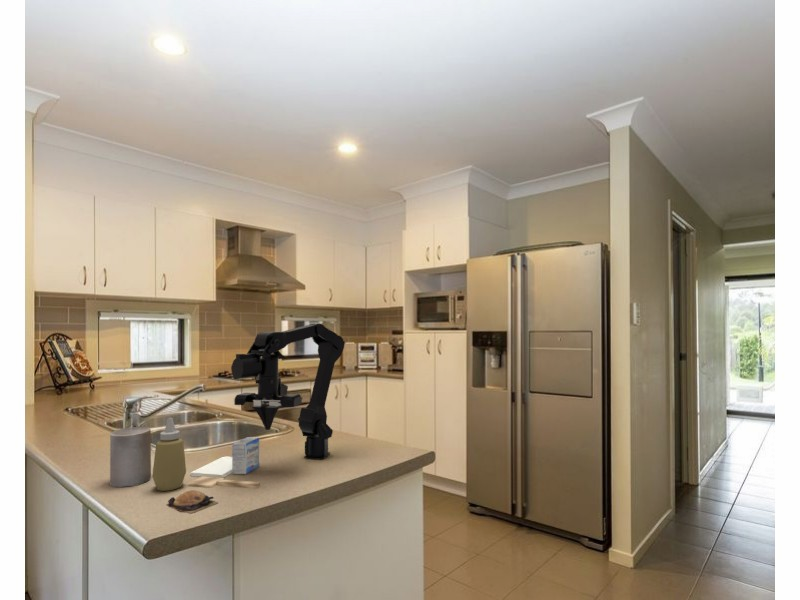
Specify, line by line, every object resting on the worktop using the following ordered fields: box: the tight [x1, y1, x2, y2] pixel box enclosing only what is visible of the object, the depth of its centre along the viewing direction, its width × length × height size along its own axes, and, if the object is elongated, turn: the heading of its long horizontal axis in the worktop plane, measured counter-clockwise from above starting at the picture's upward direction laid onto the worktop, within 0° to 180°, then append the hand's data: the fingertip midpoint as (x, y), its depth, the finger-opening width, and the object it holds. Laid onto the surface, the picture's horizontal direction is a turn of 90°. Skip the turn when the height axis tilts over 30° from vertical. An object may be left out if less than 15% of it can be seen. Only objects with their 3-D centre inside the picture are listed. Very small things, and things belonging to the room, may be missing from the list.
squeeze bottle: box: [151, 417, 187, 492], centre depth 123 cm, size 8×8×18 cm
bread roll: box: [165, 489, 219, 514], centre depth 112 cm, size 11×8×4 cm
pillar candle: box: [109, 425, 152, 488], centre depth 128 cm, size 10×10×15 cm
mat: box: [190, 455, 232, 478], centre depth 139 cm, size 10×16×1 cm, turn 167°
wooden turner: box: [187, 477, 261, 489], centre depth 125 cm, size 19×6×1 cm, turn 77°
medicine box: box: [231, 436, 260, 475], centre depth 137 cm, size 8×4×9 cm, turn 168°
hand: (268, 429), depth 136 cm, fingers closed
